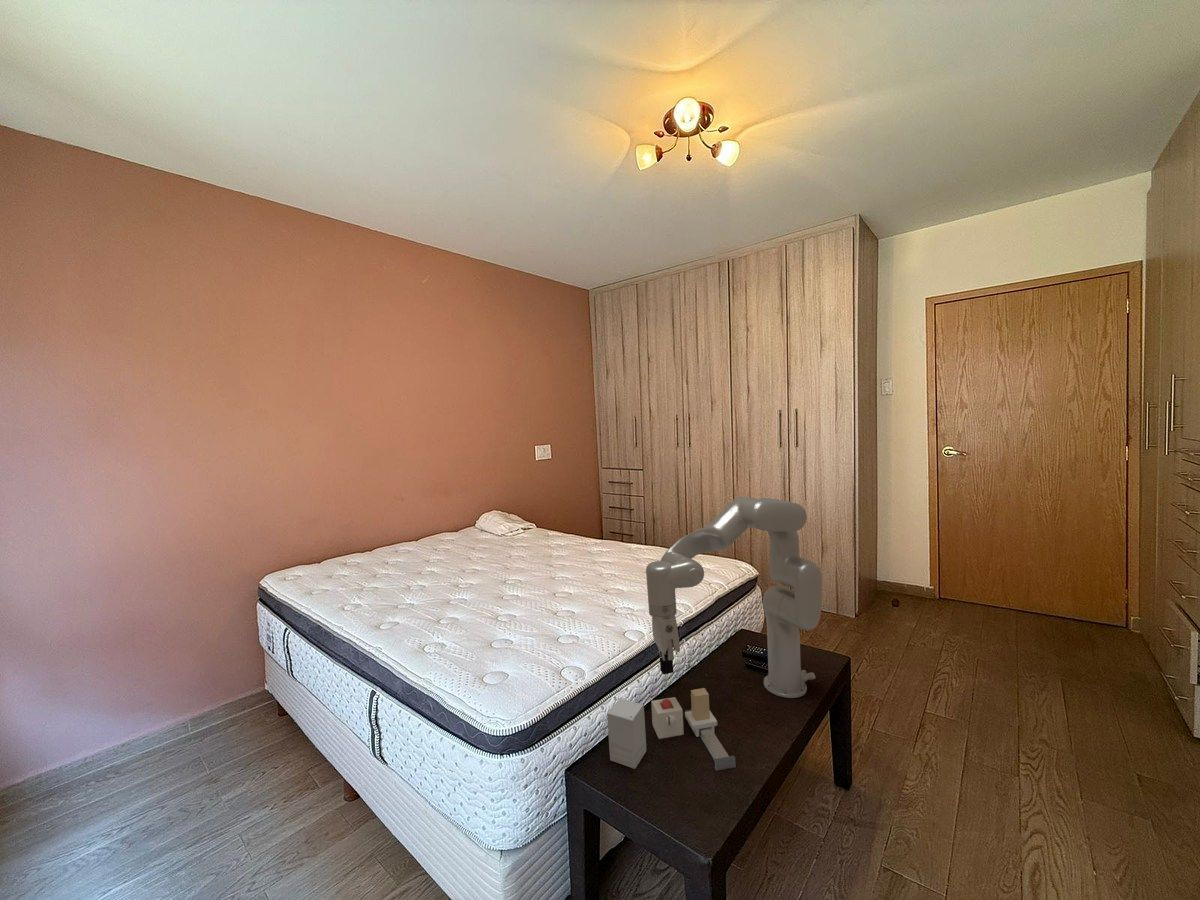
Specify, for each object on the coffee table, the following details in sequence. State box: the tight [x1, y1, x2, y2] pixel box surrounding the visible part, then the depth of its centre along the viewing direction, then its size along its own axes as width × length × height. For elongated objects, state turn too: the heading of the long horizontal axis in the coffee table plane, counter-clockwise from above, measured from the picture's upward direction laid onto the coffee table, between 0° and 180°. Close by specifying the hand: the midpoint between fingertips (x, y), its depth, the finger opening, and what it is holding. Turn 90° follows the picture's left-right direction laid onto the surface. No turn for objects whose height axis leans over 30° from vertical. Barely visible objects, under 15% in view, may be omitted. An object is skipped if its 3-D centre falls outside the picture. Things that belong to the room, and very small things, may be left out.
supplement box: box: [606, 697, 647, 770], centre depth 117 cm, size 7×7×13 cm
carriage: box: [684, 687, 718, 738], centre depth 126 cm, size 7×6×10 cm
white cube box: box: [650, 696, 685, 740], centre depth 126 cm, size 7×7×7 cm
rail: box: [684, 708, 737, 772], centre depth 122 cm, size 5×21×2 cm, turn 10°
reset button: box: [662, 698, 671, 710], centre depth 127 cm, size 2×2×5 cm
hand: (667, 671), depth 126 cm, fingers closed
